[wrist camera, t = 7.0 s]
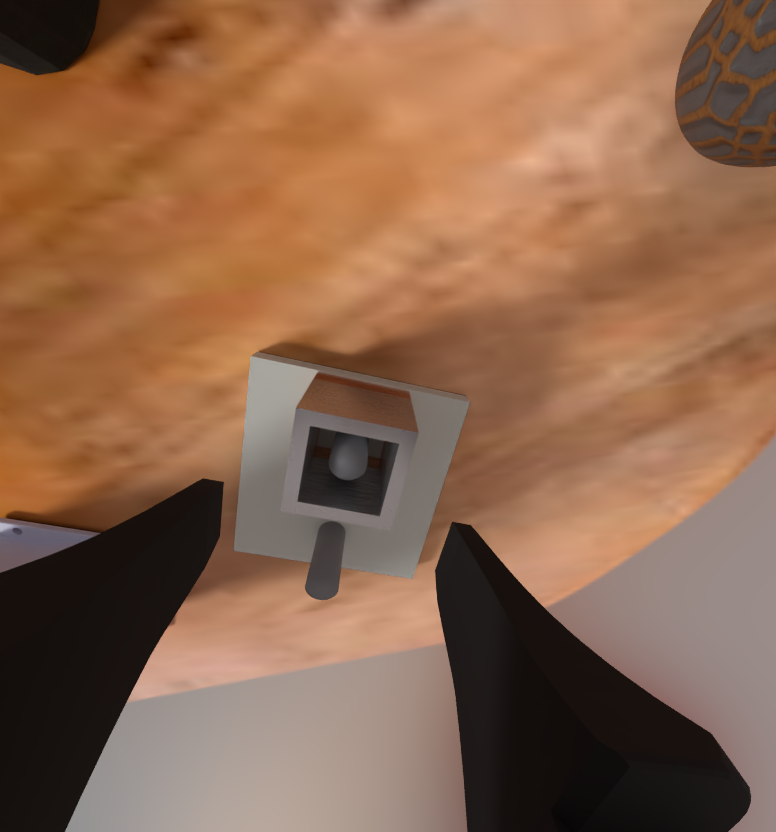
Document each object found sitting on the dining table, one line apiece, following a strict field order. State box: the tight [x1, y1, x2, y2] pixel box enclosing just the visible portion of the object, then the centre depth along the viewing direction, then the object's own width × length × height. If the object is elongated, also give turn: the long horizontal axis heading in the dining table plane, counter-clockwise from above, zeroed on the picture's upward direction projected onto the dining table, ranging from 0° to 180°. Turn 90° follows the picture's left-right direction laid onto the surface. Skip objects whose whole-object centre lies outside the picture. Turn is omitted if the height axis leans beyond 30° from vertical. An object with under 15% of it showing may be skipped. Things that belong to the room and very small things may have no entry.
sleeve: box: [281, 372, 419, 530], centre depth 17 cm, size 5×5×5 cm
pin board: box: [234, 352, 470, 600], centre depth 19 cm, size 11×12×5 cm
